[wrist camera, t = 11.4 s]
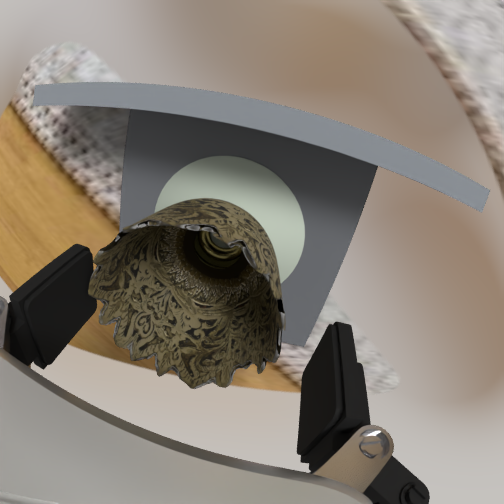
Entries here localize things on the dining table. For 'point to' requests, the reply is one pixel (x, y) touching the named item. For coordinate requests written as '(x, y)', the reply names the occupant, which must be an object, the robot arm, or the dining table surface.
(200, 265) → the cup
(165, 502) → the robot arm
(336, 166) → the mat
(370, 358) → the dining table surface
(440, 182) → the acrylic wall
